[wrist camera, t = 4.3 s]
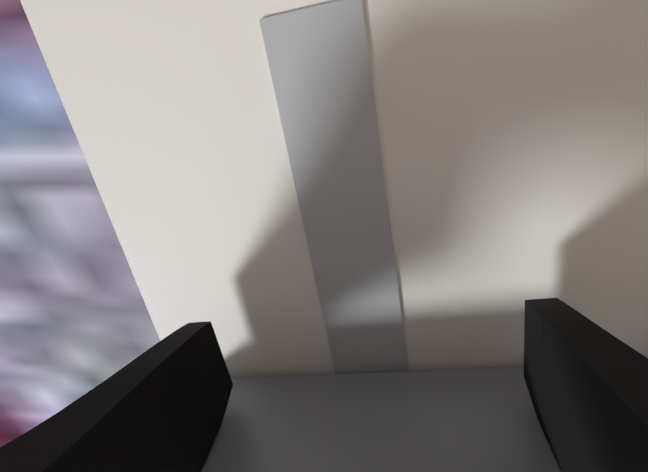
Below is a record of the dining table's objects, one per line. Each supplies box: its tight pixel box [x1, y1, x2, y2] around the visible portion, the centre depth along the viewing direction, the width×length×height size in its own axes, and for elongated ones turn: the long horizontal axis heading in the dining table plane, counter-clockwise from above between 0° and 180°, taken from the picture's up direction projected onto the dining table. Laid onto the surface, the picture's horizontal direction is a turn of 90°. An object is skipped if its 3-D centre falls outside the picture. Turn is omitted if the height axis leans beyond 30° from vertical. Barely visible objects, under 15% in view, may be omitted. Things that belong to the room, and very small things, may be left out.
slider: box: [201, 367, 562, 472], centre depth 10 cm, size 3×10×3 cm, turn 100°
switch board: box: [20, 0, 648, 378], centre depth 9 cm, size 18×24×1 cm
